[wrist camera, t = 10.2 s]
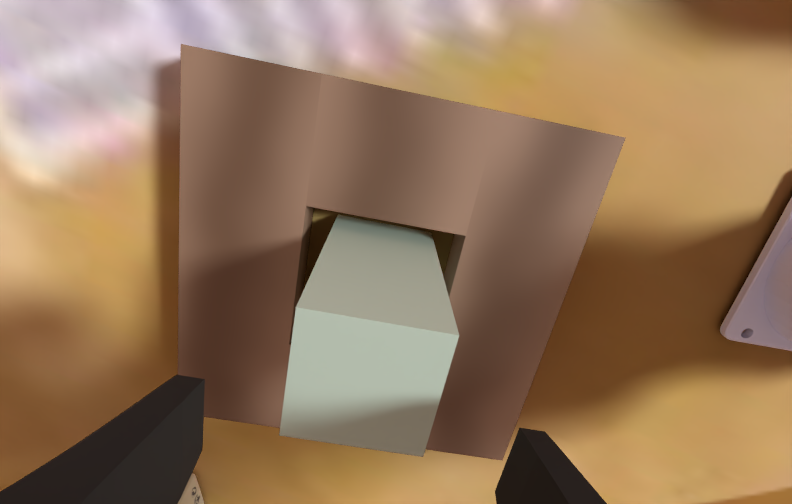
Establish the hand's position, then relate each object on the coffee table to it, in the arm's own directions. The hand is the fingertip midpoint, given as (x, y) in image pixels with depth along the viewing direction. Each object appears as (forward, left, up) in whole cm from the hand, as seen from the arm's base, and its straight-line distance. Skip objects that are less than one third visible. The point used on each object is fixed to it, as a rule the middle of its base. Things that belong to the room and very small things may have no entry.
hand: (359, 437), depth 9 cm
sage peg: (0, 0, -9) cm, 9 cm away
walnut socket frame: (0, 0, -9) cm, 9 cm away
